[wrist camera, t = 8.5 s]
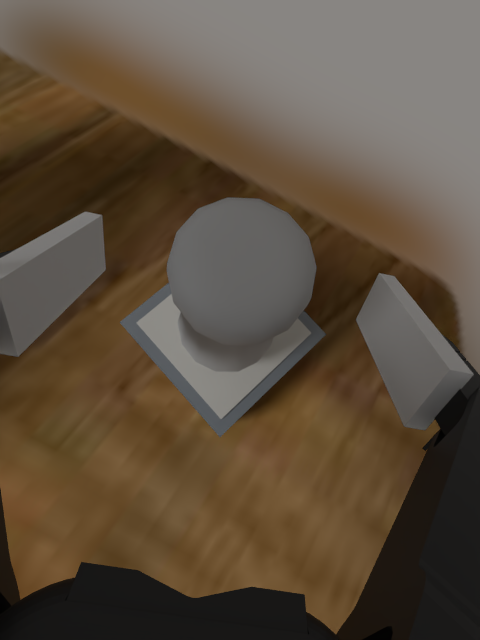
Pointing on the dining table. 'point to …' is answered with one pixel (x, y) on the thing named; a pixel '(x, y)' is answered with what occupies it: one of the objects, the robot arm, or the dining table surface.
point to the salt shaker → (238, 280)
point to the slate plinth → (203, 383)
